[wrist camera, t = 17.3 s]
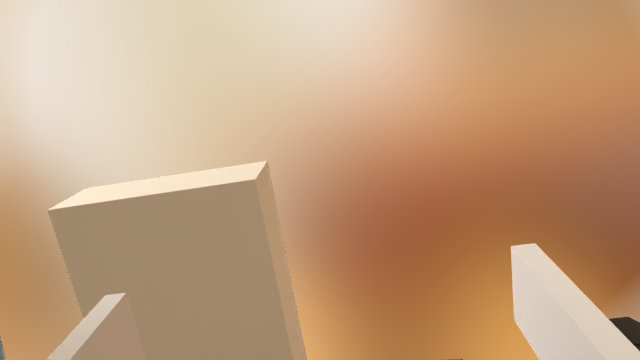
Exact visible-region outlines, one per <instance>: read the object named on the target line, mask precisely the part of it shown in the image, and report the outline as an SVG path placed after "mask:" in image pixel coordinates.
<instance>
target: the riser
mask: <svg viewBox="0 0 640 360" xmlns="http://www.w3.org/2000/svg"><path fill="white" fill-rule="evenodd" d="M48 213H49V216H50V219H51V222H52V225H53V228H54V231H55V234H56V236H57V240H58V243H59V245H60V249H61V251H62V255H63V258H64V261H65V264H66V267H67V269H68V273H69V275H70V279H71V282H72V285H73V287H74V291H75V294H76V297H77V299H78V303H79V305H80V308H81V312H82V314H83V317H84V318H85V317H86V316H87V315H88V313H89V312H90V311H91V310H92V309H93V308H94V307H95V306H96V305H97V304H98V303H99V301H100V300H101V299H102V298H103V297H104V296H105V295H111V294H120V293H126V294H127V297H128V301H129V304H130V307H131V311H132V314H133V317H134V321H135V324H136V327H137V331H138V334H139V337H140V341H141V344H142V347H143V351H144V354H145V357H146V360H307V358H306V353H305V348H304V343H303V338H302V333H301V328H300V323H299V317H298V313H297V307H296V303H295V297H294V292H293V288H292V282H291V277H290V272H289V267H288V262H287V257H286V252H285V247H284V242H283V237H282V232H281V227H280V222H279V217H278V212H277V207H276V202H275V197H274V192H273V186H272V181H271V176H270V171H269V166H268V161H263V162H256V163H249V164H243V165H236V166H230V167H223V168H216V169H210V170H203V171H197V172H190V173H184V174H177V175H170V176H164V177H157V178H151V179H144V180H137V181H131V182H124V183H118V184H111V185H104V186H98V187H91V188H86V189H85V190H83V191H81V192H79V193H77V194H76V195H74V196H72V197H71V198H68V199H67V200H65V201H63V202H61V203H59V204H57V205H56V206H54V207H52V208H50V209H48Z"/></svg>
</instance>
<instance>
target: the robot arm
mask: <svg viewBox="0 0 640 360" xmlns="http://www.w3.org/2000/svg"><path fill="white" fill-rule="evenodd" d="M511 258H512V280H513V304H514V320H515V322H516V323H517V325H518V326H519V328H520V330H521V331H522V333H523V334H524V336H525V338H526V339H527V341H528V342H529V344H530V346H531V347H532V349H533V350H534V352H535V354H536V355H537V357H538V358H539V360H640V323H639V322H637V321H635V320H633V319H631V318H629V317H622V318H614V319H608V318H607V317H606V316H605V315H604V314H603V313H602V312H601V311H600V310H599V309H598V308H597V307H596V306H595V305H594V304H593V303H592V302H591V301H590V300H589V299H588V298H587V296H586V295H585V294H584V293H582V292H581V290H580V289H579V288H578V287H577V286H576V285H575V284H574V283H573V282H572V281H571V280H570V279H569V278H568V277H567V276H566V275H565V274H564V273H563V272H562V271H561V270H560V269H559V268H558V266H557V265H555V264H554V263H553V261H552V260H551V259H550V258H549V257H548V256H547V255H546V254H545V253H544V252H543V251H542V250H541V249H540V248H539V247H538V246H537V245H536V244H535V243H533V244H525V245H518V246H511ZM0 338H1V337H0ZM0 360H6V357H5V353H4V349H3V345H2V341H1V339H0ZM47 360H146V357H145V354H144V351H143V347H142V344H141V341H140V337H139V334H138V331H137V327H136V324H135V321H134V317H133V314H132V311H131V307H130V304H129V301H128V297H127V294H126V293H120V294H111V295H105V296H104V297H103V298H102V299H101V300H100V301H99V303H98V304H97V305H96V306H95V307H94V308H93V309H92V310H91V311H90V312H89V313H88V315H87V316H86V317H85V318H84V319H83V320H82V321H81V322H80V324H79V325H78V326H77V327H76V328H75V329H74V330H73V331H72V332H71V333H70V334H69V335H68V337H67V338H66V339H65V340H64V341H63V342H62V343H61V344H60V345H59V346H58V347H57V349H56V350H55V351H54V352H53V353H52V354H51V355H50V356H49V358H47Z"/></svg>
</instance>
